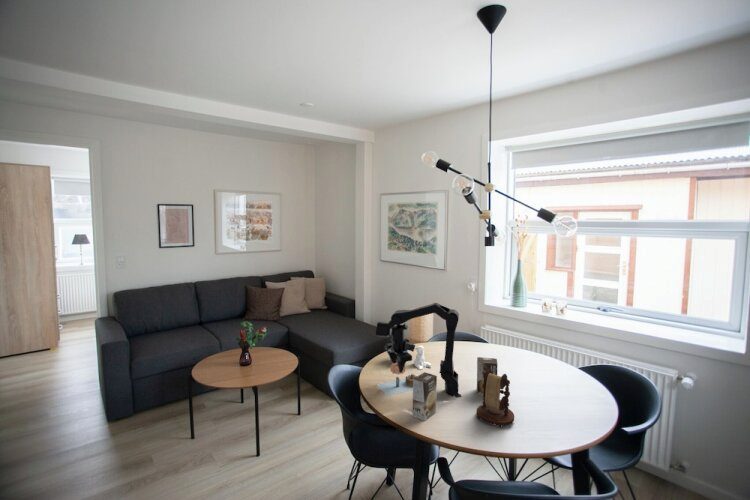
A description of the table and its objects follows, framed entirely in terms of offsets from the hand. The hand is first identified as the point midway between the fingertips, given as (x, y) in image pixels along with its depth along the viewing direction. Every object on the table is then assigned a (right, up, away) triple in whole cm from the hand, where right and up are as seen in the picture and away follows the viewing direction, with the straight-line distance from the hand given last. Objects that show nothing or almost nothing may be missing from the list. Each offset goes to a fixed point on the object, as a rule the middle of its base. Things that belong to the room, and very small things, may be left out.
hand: (397, 369), depth 176 cm
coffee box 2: (+41, -10, -4) cm, 43 cm away
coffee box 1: (+10, -12, -22) cm, 27 cm away
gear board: (+2, -10, +2) cm, 10 cm away
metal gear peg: (0, -9, +1) cm, 9 cm away
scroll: (+38, -12, -26) cm, 48 cm away
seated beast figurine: (+14, -8, +26) cm, 30 cm away
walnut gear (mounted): (+7, -8, +4) cm, 12 cm away
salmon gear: (0, -1, 0) cm, 1 cm away
